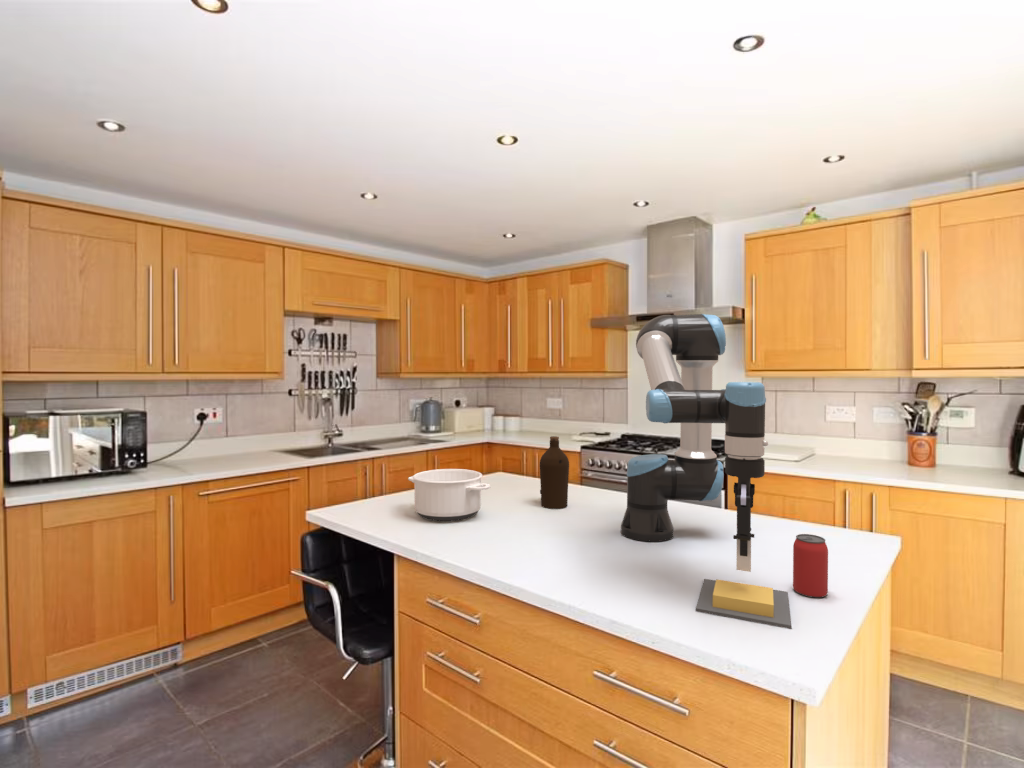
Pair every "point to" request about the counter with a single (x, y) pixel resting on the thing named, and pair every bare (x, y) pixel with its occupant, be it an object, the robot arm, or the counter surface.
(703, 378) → the robot arm
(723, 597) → the slab
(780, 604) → the mat
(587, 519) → the counter surface
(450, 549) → the counter surface
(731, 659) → the counter surface
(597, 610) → the counter surface
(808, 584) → the beer can
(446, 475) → the pot
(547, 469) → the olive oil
